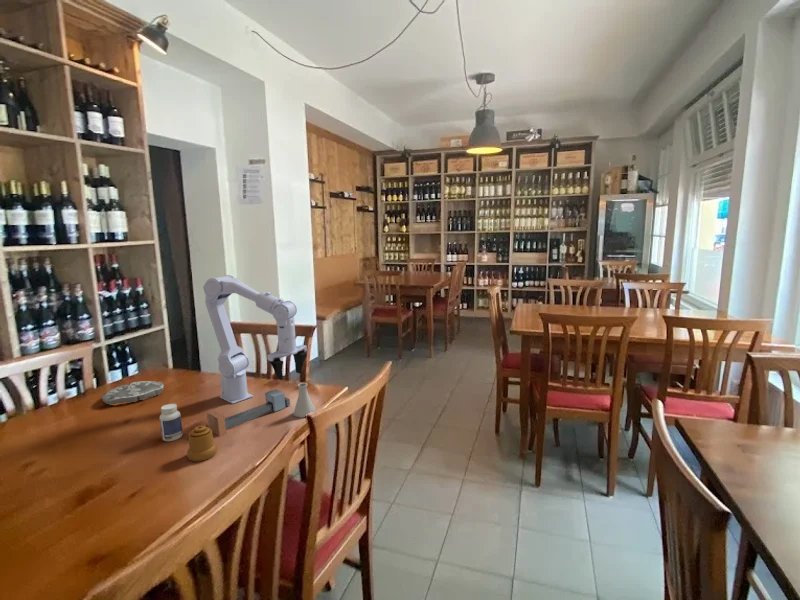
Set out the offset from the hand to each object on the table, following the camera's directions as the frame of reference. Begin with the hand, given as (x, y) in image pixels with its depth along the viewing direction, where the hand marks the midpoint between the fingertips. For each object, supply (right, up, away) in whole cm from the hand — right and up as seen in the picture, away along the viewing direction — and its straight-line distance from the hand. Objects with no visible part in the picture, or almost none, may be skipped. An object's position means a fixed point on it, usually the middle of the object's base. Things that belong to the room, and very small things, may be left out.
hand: (289, 375), depth 145 cm
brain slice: (-61, -10, +11) cm, 63 cm away
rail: (-9, -12, -9) cm, 17 cm away
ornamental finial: (-15, -16, -31) cm, 38 cm away
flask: (+7, -11, -7) cm, 15 cm away
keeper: (-4, -10, -2) cm, 11 cm away
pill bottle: (-29, -15, -21) cm, 38 cm away
